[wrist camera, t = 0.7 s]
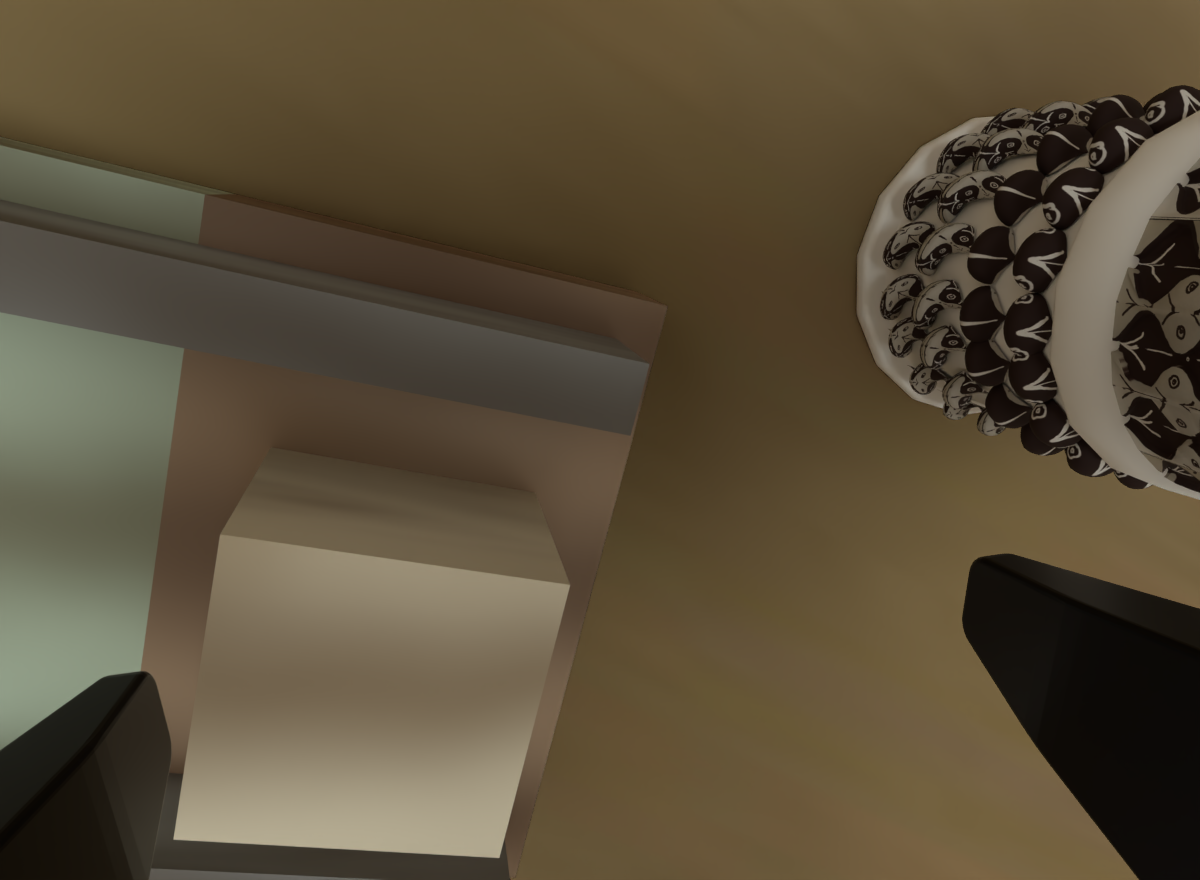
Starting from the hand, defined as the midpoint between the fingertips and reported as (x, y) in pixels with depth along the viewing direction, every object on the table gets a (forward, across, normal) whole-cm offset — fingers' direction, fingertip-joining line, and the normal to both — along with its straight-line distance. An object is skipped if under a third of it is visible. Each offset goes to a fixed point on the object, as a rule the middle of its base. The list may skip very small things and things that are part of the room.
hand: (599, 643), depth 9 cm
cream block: (+10, +3, +5) cm, 12 cm away
